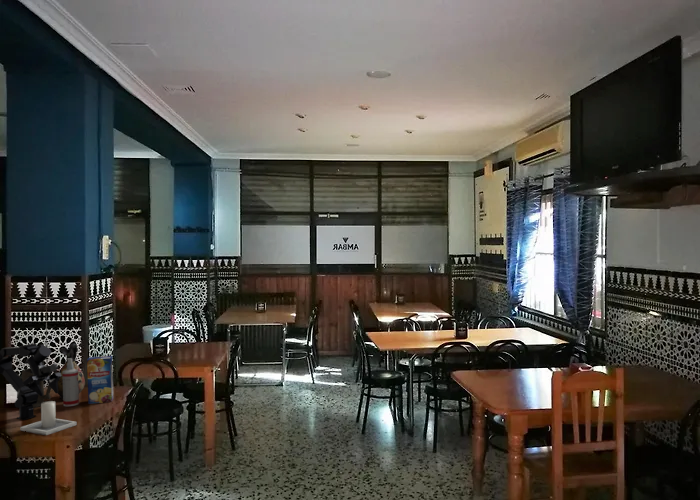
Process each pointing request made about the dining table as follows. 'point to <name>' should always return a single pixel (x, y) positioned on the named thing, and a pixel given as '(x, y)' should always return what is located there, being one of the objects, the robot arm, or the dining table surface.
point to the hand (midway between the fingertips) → (49, 394)
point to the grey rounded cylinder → (48, 414)
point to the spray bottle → (70, 385)
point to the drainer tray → (46, 431)
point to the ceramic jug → (72, 354)
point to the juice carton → (100, 379)
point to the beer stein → (40, 400)
